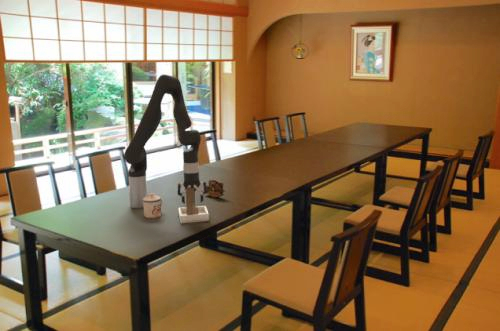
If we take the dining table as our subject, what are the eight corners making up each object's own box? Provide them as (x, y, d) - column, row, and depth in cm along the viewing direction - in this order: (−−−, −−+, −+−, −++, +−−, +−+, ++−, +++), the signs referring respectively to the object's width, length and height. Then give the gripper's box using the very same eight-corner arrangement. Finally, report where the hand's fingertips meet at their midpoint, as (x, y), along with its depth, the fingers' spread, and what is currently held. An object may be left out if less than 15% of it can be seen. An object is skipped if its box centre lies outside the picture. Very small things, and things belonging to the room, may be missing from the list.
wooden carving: (201, 195, 287) (200, 179, 285) (206, 194, 291) (206, 177, 288) (223, 200, 277) (222, 182, 275) (228, 198, 281) (227, 181, 279)
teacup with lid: (154, 219, 247) (152, 196, 245) (140, 216, 252) (138, 194, 249) (169, 212, 258) (167, 190, 255) (155, 210, 262) (153, 188, 259)
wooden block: (192, 218, 245) (191, 188, 241) (186, 217, 246) (185, 188, 243) (198, 214, 251) (197, 185, 247) (192, 213, 252) (192, 184, 248)
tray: (180, 223, 241) (179, 216, 240) (178, 214, 254) (178, 207, 253) (209, 220, 243) (208, 213, 242) (205, 212, 257) (205, 205, 256)
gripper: (204, 168, 248) (206, 199, 252) (176, 170, 246) (177, 201, 249) (206, 171, 241) (207, 203, 245) (177, 173, 238) (178, 205, 242)
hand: (192, 202), depth 247 cm, fingers open, 8 cm apart
